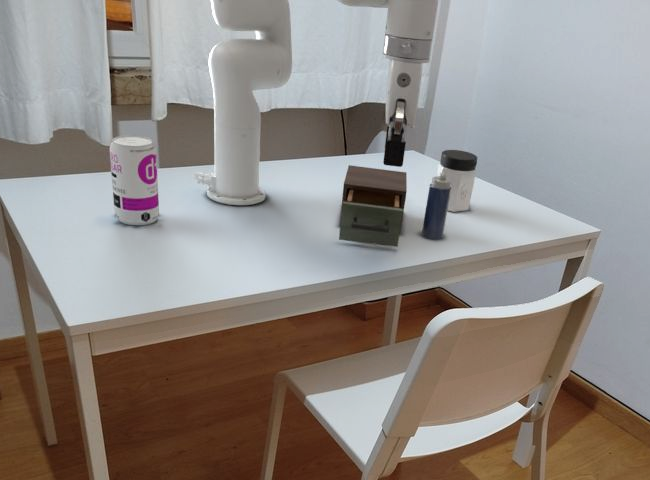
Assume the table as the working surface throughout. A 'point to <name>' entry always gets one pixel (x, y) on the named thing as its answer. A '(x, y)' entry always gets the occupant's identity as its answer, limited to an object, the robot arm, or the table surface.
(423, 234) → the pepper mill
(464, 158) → the jar
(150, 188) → the supplement can
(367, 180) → the cabinet
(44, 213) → the table surface
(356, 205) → the drawer
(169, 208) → the table surface
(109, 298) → the table surface
